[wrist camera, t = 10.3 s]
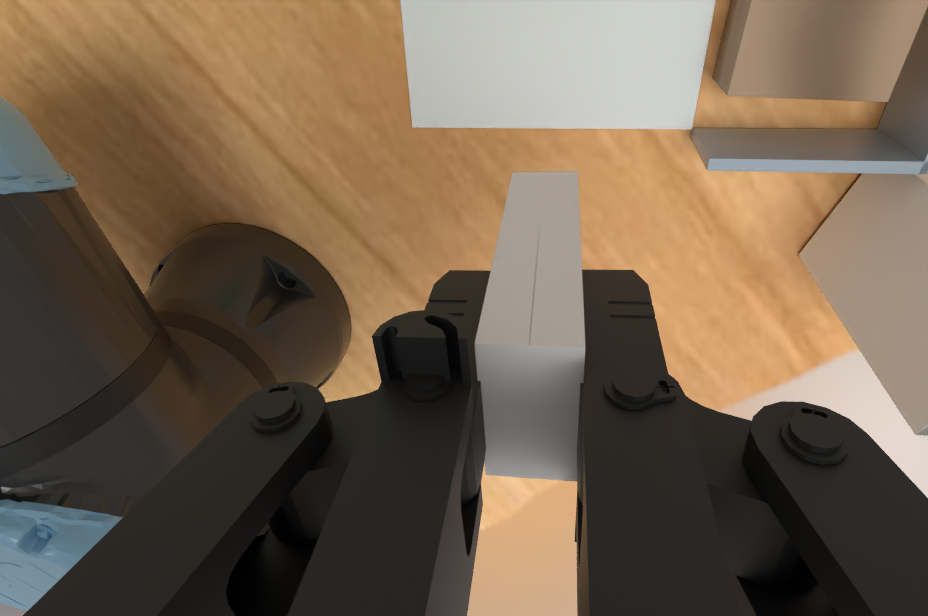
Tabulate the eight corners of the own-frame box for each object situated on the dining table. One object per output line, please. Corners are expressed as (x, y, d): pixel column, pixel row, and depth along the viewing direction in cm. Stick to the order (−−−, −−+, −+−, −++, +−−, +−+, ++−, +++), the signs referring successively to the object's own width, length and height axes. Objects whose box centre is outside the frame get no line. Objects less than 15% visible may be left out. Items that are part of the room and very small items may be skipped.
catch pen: (690, 138, 31) (707, 170, 27) (747, -167, 24) (781, -185, 20) (885, 140, 30) (933, 174, 26) (1010, -187, 22) (1105, -211, 18)
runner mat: (413, 126, 34) (412, 127, 34) (390, -124, 27) (388, -124, 27) (691, 127, 31) (691, 129, 31) (741, -149, 24) (743, -149, 24)
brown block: (711, 76, 30) (727, 95, 27) (749, -84, 26) (773, -84, 23) (853, 81, 29) (887, 102, 26) (915, -84, 25) (965, -85, 22)
